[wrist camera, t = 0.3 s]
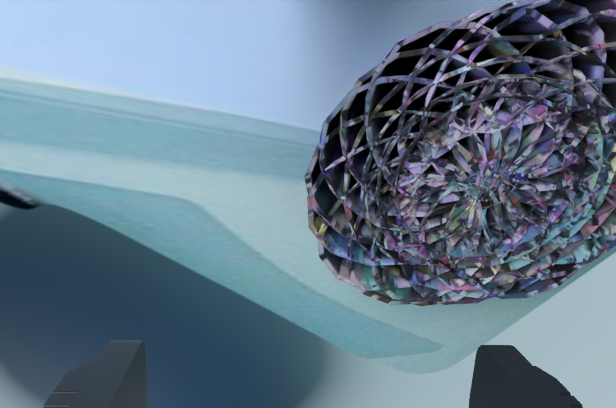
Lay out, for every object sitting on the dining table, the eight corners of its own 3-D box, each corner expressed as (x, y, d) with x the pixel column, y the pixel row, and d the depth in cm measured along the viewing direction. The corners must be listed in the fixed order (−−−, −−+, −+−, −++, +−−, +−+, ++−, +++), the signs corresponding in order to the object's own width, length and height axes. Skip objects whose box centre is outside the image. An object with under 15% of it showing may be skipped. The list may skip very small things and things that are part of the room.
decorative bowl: (598, 201, 50) (671, 263, 41) (339, 284, 52) (357, 360, 43) (602, -76, 36) (712, -67, 28) (248, 52, 38) (250, 96, 30)
